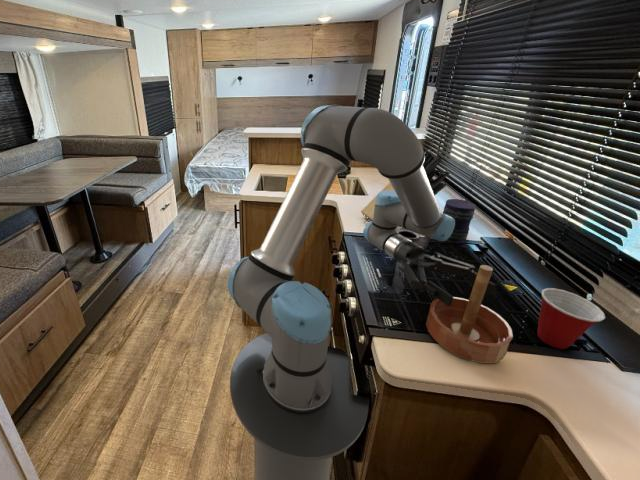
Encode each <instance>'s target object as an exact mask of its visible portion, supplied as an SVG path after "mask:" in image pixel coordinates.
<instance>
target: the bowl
mask: <svg viewBox="0 0 640 480" xmlns="http://www.w3.org/2000/svg"><path fill="white" fill-rule="evenodd" d="M468 301H469V299H467V298H464V297H457V296H453V300H452V303H451V306H447V305H446V304H444V303H443V302H442V301H440V300H439V299H437V298H435V299H434V300H433V301H432V302H431V303H430V306H429V310H428V313H427V317H426V320H425V326H426V329H427V332H428V333H429V335H430V336H431V337H432V339H433V340H434V341H435V342H436V343H438V344H439V345H440V346H441V347H442V348H443V349H445V350H447V351H448V352H451V353H452V354H454V355H455V356H457V357H460V358H463V359H465V360H468V361H472V362H475V363H476V362H477V363H481V364H490V363H491V364H494V363H497V362H499V361H502V360H504V358H505V356H506V355H507V354H508V353H507V352H508V350H509V349H510V346H511V343H512V341H513V339H514V334H513V329H512V327H511V326H510V325H509V323H508V321H507V320H505V319H504V318H503V317H502V316H501V315H500V314H499V313H497V312H496V311H494V310H493V309H491V308H489V307H488V306H485V305H483V304H481V306H480V309H479V312H478V314H477V317H476V320H475V323H474V326H473V328H474V329H475V330H477V332H478V333H479V335H480V338H479V341H478V342H477V341H473V340H470V339H468V338H465V337H462V336H460V335H458V334H457V333H455V332H453V331H451V330H450V327H451V325H452V324H453V323H456V322H459V323H461V322H462V319H463V316H464V313H465V310H466V307H467V304H468Z"/></svg>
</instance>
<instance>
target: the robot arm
mask: <svg viewBox="0 0 640 480" xmlns="http://www.w3.org/2000/svg"><path fill="white" fill-rule="evenodd" d="M300 135H301V136H300V142H301V145H302V147H301V150H300V152H301V156H302V159H303V160H302V162H301V163H300V164H301V165H300V167H299V168H298V171H297V172H296V175H295V177H294V178H293V180H292V182H291V185H290V187H289V189H288V191H287V193H286V195H285V196H284V199H283V201H282V203H281V204H280V207H279V208H278V211H277V212H276V215H275V217H274V219H273V221H272V223H271V225H270V227H269V229H268V231H267V233H266V235H265V238H264V240H263V241H262V243H261V246H260V247H259V248H258V249H255V250H251V252H250V254H249V256H245V257H243V258H240V260H239V261H236V262H235V264H234V265H233V266H232V268H231V270H230V272H229V274H228V278H227V291H228V293H229V296H230V297H231V299H232V300H233V301H234V303H235V304H236V305H237V307H238V308H239V309H241V310H242V311H243V312H245V314H247V315H248V317H250V318H251V319H252V320H253V321H254V322H255V323H256V324H257V325H258V326H259V327H260V328H261V329H262V330H263V331H264V332H266V333H268V334H269V335H270V337H271V338H272V350H271V352H270V354H269V356H268V358H267V360H266V363H265V366H262V367H258V368H257V369H256V370H257V372H262V371H263V383H264V387H265V390H266V392H267V394H268V396H269V397H270V398H271V400H272V401H273V402H274V403H275V404H276V405H278V406H279V407H280V408H282V409H284V410H286V411H288V412H291V413H295V414H310V413H313V412H316V411H318V410H320V409H321V408H322V407H324V406H325V405H326V403H327V402H328V400H329V398H330V395H331V391H332V377H331V372H330V369H329V366H328V363H327V360H326V357H327V349H328V346H329V340H330V332H331V329H332V310H331V304H330V302H329V300H328V298H327V297H326V295H325V294H324V293H323V292H322V291H321V290H320V289H319V288H317V287H316V286H314V285H312V284H310V283H308V282H303V283H301V282H300V281H299V280H293V279H294V277H295V275H296V273H295V269H294V267H293V264H294V262H295V260H296V259H297V256H298V254H299V252H300V250H301V249H302V246H303V244H304V242H305V240H306V238H307V236H308V234H309V232H310V230H311V228H312V226H313V224H314V222H315V220H316V218H317V216H318V214H319V212H320V210H321V208H322V205H323V204H324V202H325V200H326V198H327V195H328V193H329V191H330V190H331V187H332V185H333V184H334V182H335V180H336V177H337V176H338V175H339V174H342V173H345V172H346V171H348V168H349V166H350V165H351V162H353V161H354V162H357V163H363V164H367V165H369V166H371V167H373V168H375V169H376V170H377V171H378V173H379V174H380V175H381V176H382V177H384V178H386V179H388V181H389V182H390V183H391V185H392V186H393V188H394V190H395V191H391V190H385V191H382V190H380V191H379V192H377V195H376V196H377V198H376V202H375V209H374V215H373V221H371V220H370V221H369V222H368V223H366V224H365V227H364V228H363V231H362V234H363V236H364V239H365V240H366V241H367V242H369V243H370V245H372V246H374V247H376V248H377V249H379V250H381V251H382V252H384V253H385V254H386V255H388V256H389V257H391V258H392V259H393V260H394V261H396V262H397V263H399V265H398V269H399V270H400V271H401V272H402V273H403V275H404V277H405V278H406V281H407V282H408V284H409V286H410V287H411V289H412V290H417V289H418V292H420V293H424V292H426V293H428V294H429V295H430V296H433V297H435V299H439V300H440V301H442V302H443V303H444V304H446V305H447V306H451V303H452V300H453V297H454V296H453V295H452V294H451V293H449V292H448V291H446V290H445V289H443V288H442V287H441V286H439V285H438V284H436V283H434V282H433V281H432V280H427V278H426V273H428V272H438V273H439V272H445V273H449V274H452V275H456V276H461V277H464V278H465V280H467V281H468V282H470V283H471V284H473V285H474V283H475V280H476V277H477V274H478V272H475V269H476V266H475V265H473V264H470V263H467V262H464V261H461V260H458V259H456V258H452V257H448V256H446V255H443V254H441V253H439V252H434V254H433V255H431V254H427V252H426V251H425V249H423V248H422V247H421V246H419V245H417V244H416V243H414V242H412V241H411V240H409V239H407V238H406V237H404V236H402V235H400V234H399V233H397V232H396V230H397V229H398V227H399V228H405V229H407V230H410V231H413V232H415V233H418V234H420V236H422V237H425V236H426V237H428V238H430V239H431V240H435V241H438V242H445V241H446V240H447V239H448V238H449V237H450V236H451V234H452V232H453V230H454V227H455V220H454V218H453V217H451V216H448V215H446V214H443V212H441V209H440V208H439V205H438V202H437V199H436V197H435V196H436V195H435V196H434V194H433V191H432V188H431V186H430V183H429V180H428V178H427V175H426V172H425V170H424V167H423V163H424V160H425V154H424V152H425V151H424V148H423V145H422V143H421V141H420V140H419V137H418V136H417V135H416V134H415V133H414V131H413V130H412V129H411V128H410V127H409V125H407V124H406V123H405V122H404V121H403V120H402V119H401V118H399V117H398V116H397V115H395V114H394V113H391V112H390V111H388V110H385V109H382V108H379V107H362V106H361V107H360V106H348V105H347V106H346V105H340V104H329V105H321V106H318V107H316V108H315V109H313V110H312V111H311V112H309V114H308V115H307V116H306V117H305V119H304V121H303V122H302V125H301V129H300ZM446 242H447V241H446ZM413 270H414V271H415V272H414V271H413ZM496 286H497V284H496V283H494V282H492V281H490V280H489V283H488V286H487V289H486V292H485V293H488V294H489V295H493V294H494V291H495V290H496Z"/></svg>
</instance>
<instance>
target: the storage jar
mask: <svg viewBox="0 0 640 480" xmlns="http://www.w3.org/2000/svg"><path fill="white" fill-rule="evenodd" d="M476 207H477V206H476V204H475V203H473V202H471V201H469V200H465V199H459V198H450V199H447V200H446V201H445V204H444V207H443V211H442V214H446V215H448V216H451V217H453V218H454V220H455V227H454V230H453V232H452V234H451V236H450V237H449V238H448V239H447V240H446V242H448V243H451V244H452V243H453V244H463V243H465V242H466V241H467V238H468V235H469V231H470V224H471V222H472V220H473V218H474V215H475V211H476Z"/></svg>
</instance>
